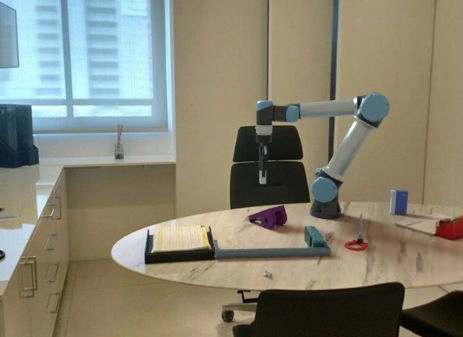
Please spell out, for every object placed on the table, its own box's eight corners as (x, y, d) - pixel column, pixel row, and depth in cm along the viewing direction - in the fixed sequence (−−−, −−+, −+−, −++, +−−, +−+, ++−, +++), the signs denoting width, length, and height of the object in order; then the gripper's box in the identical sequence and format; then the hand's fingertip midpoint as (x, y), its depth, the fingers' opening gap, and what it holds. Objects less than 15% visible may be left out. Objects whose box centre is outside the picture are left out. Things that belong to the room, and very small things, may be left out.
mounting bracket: (249, 234, 225) (274, 226, 211) (244, 217, 226) (269, 208, 213) (263, 230, 231) (289, 222, 217) (258, 213, 232) (283, 204, 219)
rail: (313, 235, 207) (314, 221, 206) (330, 256, 183) (330, 240, 182) (211, 237, 203) (211, 223, 201) (215, 258, 179) (215, 243, 178)
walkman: (404, 212, 243) (406, 189, 241) (406, 214, 240) (408, 190, 238) (388, 212, 243) (390, 189, 241) (390, 214, 241) (392, 190, 238)
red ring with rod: (359, 253, 187) (370, 246, 194) (360, 221, 184) (371, 215, 191) (340, 248, 193) (351, 241, 199) (340, 217, 190) (352, 211, 197)
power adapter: (264, 274, 166) (264, 265, 166) (272, 275, 166) (272, 266, 165) (262, 277, 163) (262, 268, 163) (270, 278, 163) (270, 269, 162)
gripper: (253, 132, 233) (252, 180, 237) (258, 135, 218) (257, 186, 223) (269, 132, 233) (267, 180, 238) (274, 135, 219) (273, 186, 224)
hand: (262, 183), depth 230 cm, fingers closed
